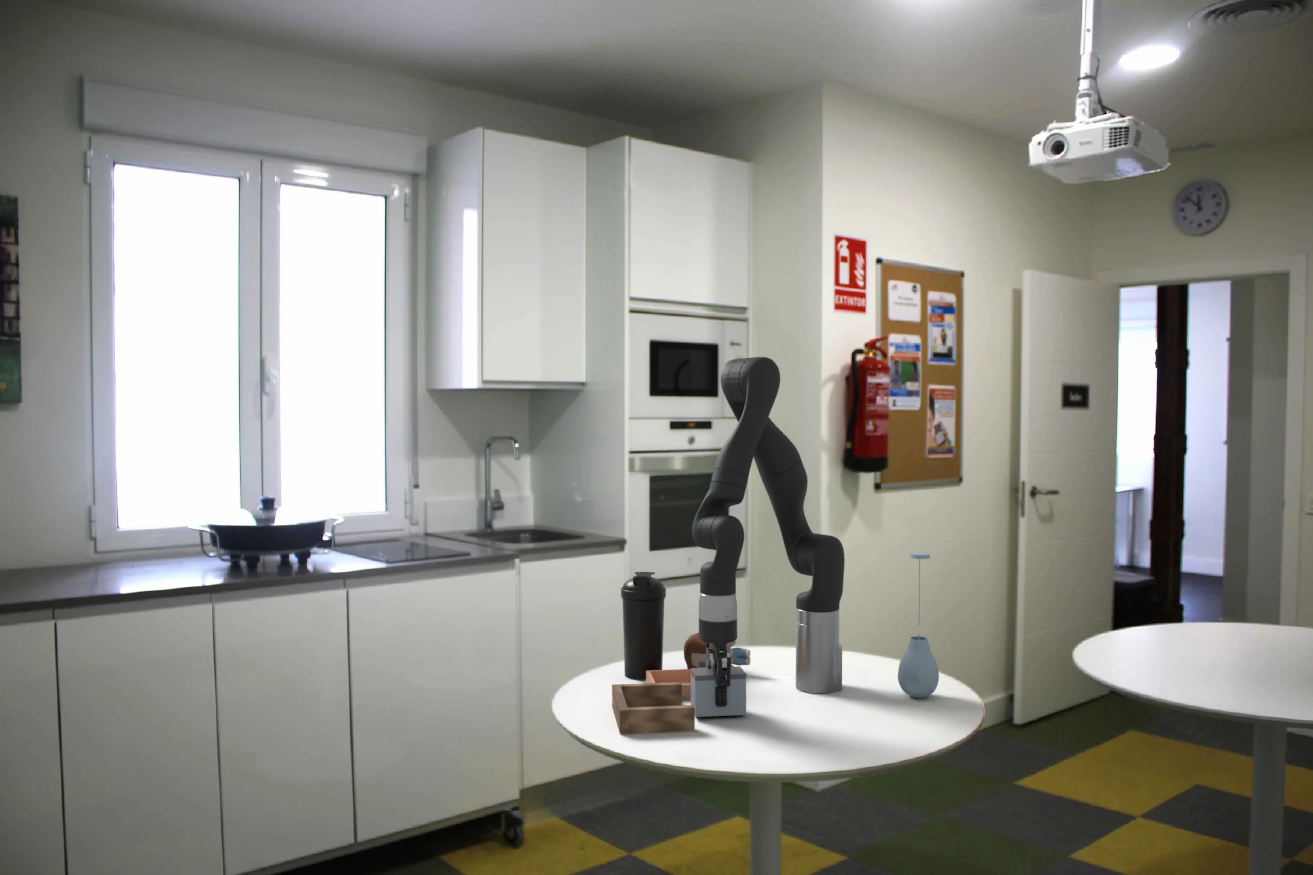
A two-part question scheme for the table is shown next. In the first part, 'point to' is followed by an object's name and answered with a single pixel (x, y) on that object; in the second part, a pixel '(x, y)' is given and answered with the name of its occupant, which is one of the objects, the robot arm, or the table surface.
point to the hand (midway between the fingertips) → (718, 701)
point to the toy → (697, 653)
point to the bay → (651, 708)
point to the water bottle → (643, 624)
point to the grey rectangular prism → (706, 693)
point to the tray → (672, 679)
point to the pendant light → (918, 660)
